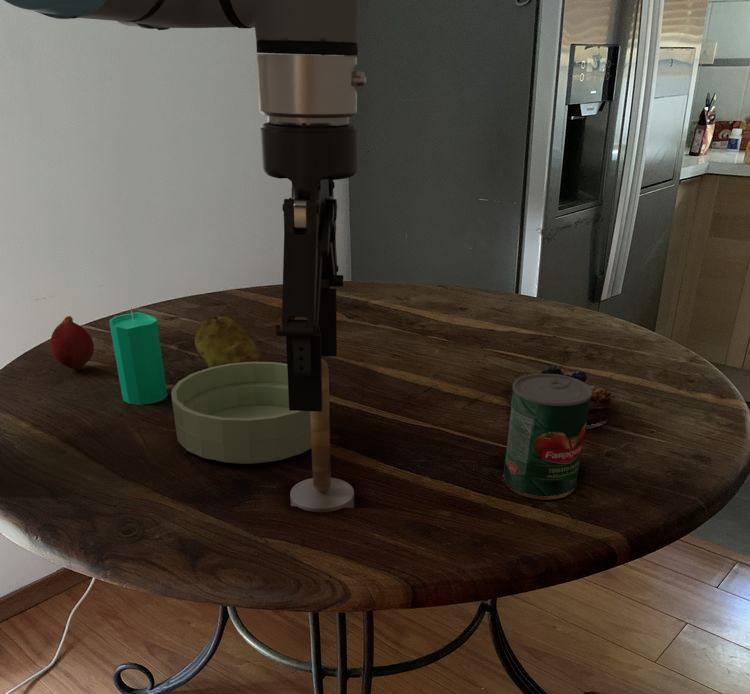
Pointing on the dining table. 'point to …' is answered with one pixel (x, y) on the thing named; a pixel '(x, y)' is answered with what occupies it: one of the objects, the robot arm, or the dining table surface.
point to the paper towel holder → (322, 465)
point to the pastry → (598, 399)
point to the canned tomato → (546, 433)
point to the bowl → (240, 414)
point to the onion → (71, 344)
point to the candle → (138, 358)
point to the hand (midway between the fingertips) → (315, 380)
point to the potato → (225, 342)
